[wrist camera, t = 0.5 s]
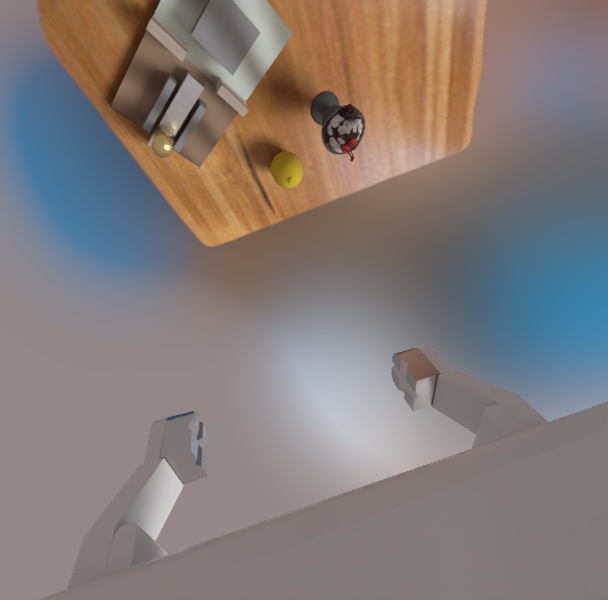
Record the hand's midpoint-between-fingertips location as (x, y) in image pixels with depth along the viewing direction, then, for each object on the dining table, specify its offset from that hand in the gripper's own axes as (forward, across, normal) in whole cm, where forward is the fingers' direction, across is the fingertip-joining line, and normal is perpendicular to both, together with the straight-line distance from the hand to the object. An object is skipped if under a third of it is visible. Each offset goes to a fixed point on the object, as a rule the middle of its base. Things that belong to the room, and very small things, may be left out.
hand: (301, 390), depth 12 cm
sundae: (+49, -18, -9) cm, 53 cm away
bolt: (+48, +6, -11) cm, 49 cm away
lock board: (+48, +1, -16) cm, 50 cm away
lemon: (+52, -9, -2) cm, 52 cm away
